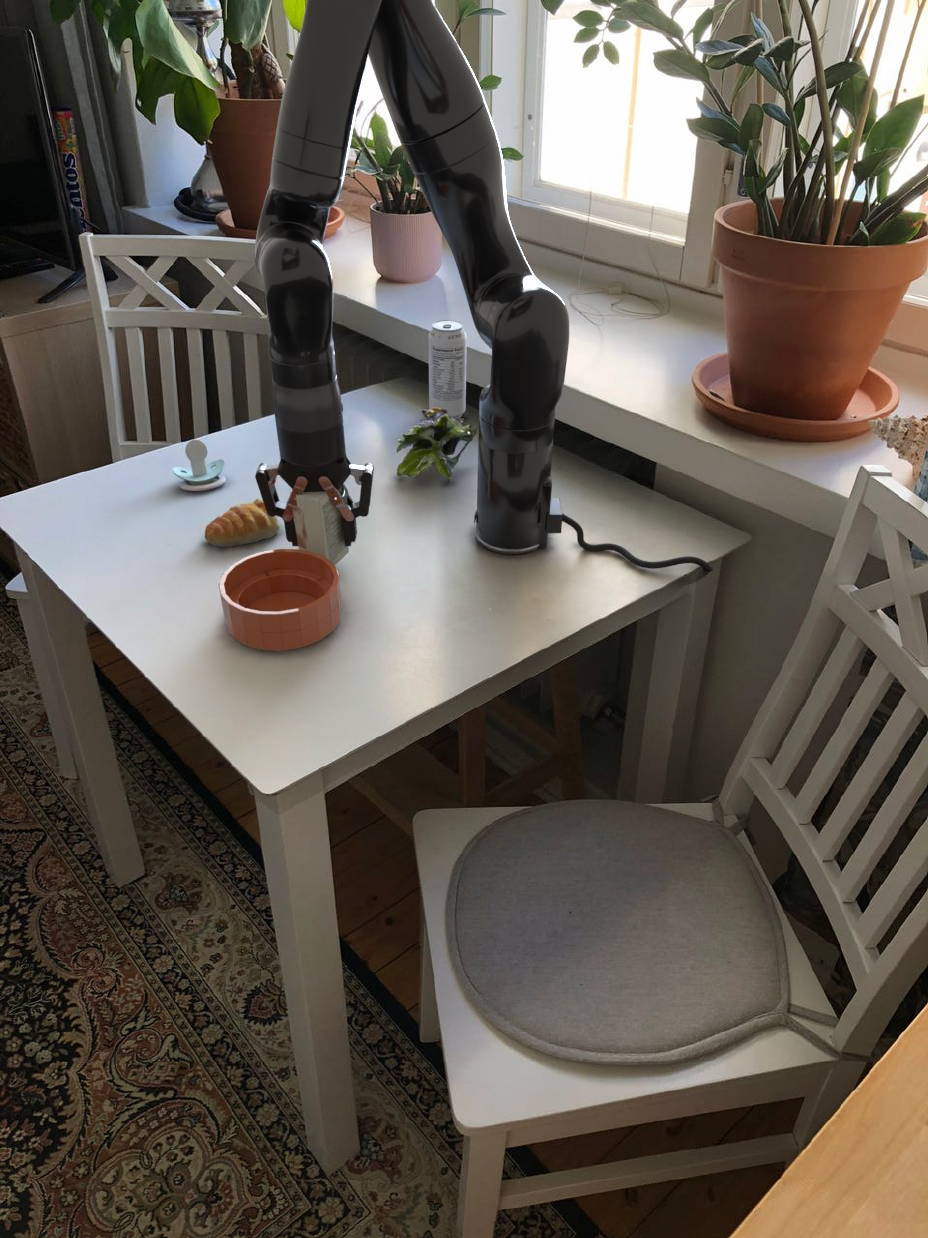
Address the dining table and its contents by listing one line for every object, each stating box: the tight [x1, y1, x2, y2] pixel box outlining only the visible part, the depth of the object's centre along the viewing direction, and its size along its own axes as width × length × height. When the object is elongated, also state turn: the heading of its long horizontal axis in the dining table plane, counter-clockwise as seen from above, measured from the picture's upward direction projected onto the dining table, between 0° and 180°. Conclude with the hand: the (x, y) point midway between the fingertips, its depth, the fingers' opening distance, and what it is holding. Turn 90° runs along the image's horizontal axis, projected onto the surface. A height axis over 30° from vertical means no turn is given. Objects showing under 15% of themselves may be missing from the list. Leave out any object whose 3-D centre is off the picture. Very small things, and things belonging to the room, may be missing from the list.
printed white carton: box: [289, 486, 350, 566], centre depth 112 cm, size 5×4×10 cm
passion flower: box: [395, 407, 478, 485], centre depth 135 cm, size 11×11×12 cm
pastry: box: [204, 498, 281, 548], centre depth 121 cm, size 9×7×4 cm
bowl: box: [218, 548, 343, 651], centre depth 106 cm, size 13×13×6 cm
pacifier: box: [172, 438, 227, 492], centre depth 132 cm, size 7×6×6 cm
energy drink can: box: [428, 319, 468, 419], centre depth 150 cm, size 6×6×15 cm
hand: (322, 542), depth 114 cm, fingers closed on printed white carton, 5 cm apart
